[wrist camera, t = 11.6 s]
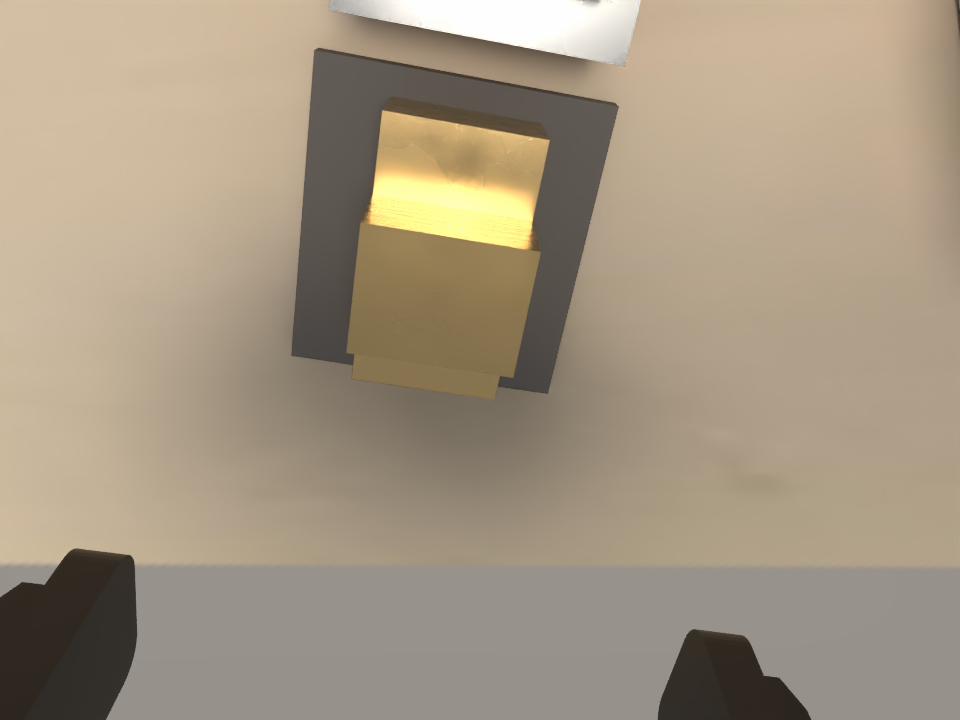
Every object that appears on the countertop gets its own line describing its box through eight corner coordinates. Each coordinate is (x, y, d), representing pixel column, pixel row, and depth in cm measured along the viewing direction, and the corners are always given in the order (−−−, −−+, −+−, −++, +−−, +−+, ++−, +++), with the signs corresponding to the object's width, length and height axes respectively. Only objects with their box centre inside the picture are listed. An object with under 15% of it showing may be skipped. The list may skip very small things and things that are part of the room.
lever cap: (541, 123, 25) (560, 161, 20) (492, 361, 29) (498, 447, 24) (391, 96, 25) (370, 128, 20) (362, 342, 29) (338, 424, 24)
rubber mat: (614, 103, 26) (618, 106, 25) (545, 384, 31) (547, 393, 30) (318, 47, 25) (314, 50, 24) (295, 346, 30) (291, 355, 29)
